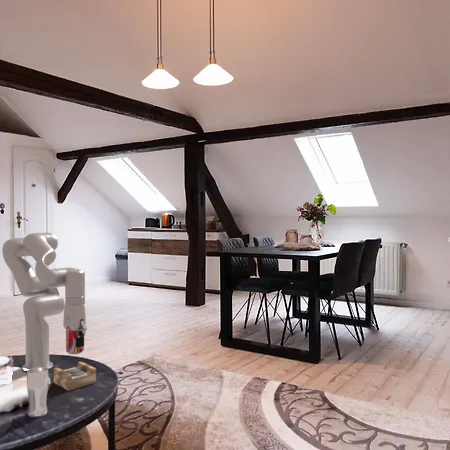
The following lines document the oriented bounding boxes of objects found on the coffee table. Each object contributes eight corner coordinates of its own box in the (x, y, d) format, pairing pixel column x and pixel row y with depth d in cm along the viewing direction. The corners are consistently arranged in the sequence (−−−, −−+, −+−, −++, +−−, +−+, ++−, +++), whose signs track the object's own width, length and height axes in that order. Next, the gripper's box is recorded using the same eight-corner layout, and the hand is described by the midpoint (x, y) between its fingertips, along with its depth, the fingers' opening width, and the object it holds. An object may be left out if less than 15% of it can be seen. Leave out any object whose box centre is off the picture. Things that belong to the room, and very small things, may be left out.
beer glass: (27, 410, 158) (27, 367, 158) (48, 407, 161) (48, 365, 160) (26, 419, 152) (26, 374, 151) (48, 416, 154) (48, 372, 154)
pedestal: (53, 382, 184) (53, 368, 184) (80, 374, 193) (80, 361, 193) (68, 390, 176) (68, 375, 176) (96, 382, 185) (96, 368, 185)
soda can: (78, 355, 180) (78, 325, 180) (62, 354, 182) (62, 324, 181) (87, 350, 187) (87, 321, 187) (71, 349, 188) (71, 320, 188)
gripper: (55, 299, 187) (55, 342, 187) (77, 305, 175) (77, 351, 175) (72, 296, 192) (72, 338, 193) (95, 302, 180) (95, 347, 181)
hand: (75, 344), depth 184 cm, fingers closed on soda can, 7 cm apart
